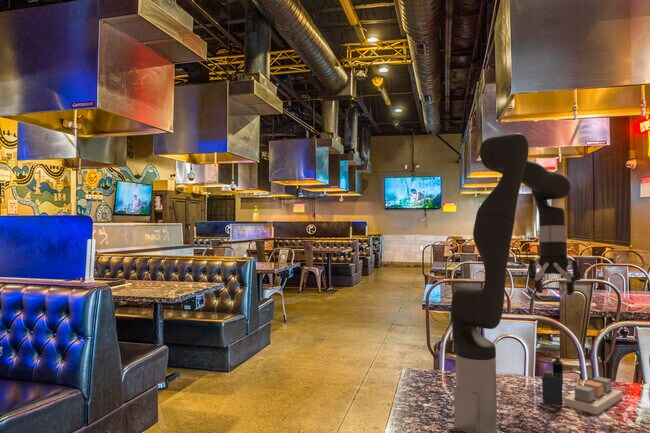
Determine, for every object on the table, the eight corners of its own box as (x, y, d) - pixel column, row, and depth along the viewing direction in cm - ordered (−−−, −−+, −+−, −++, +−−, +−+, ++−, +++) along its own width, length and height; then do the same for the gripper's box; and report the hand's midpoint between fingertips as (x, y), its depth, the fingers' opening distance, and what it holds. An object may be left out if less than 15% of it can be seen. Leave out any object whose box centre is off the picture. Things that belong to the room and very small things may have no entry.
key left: (589, 402, 116) (588, 391, 116) (574, 398, 118) (574, 387, 119) (594, 399, 118) (594, 388, 118) (580, 395, 121) (580, 385, 121)
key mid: (598, 397, 120) (597, 386, 120) (584, 393, 122) (583, 383, 122) (603, 394, 122) (602, 383, 122) (589, 390, 124) (589, 380, 125)
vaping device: (564, 404, 120) (563, 360, 120) (544, 403, 121) (543, 358, 121) (561, 401, 122) (560, 357, 123) (541, 399, 124) (540, 356, 124)
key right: (606, 392, 123) (606, 381, 123) (592, 388, 126) (592, 378, 126) (611, 389, 125) (611, 379, 126) (597, 386, 128) (597, 376, 128)
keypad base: (596, 414, 113) (596, 406, 113) (564, 405, 119) (564, 397, 119) (622, 398, 124) (622, 391, 124) (591, 390, 131) (591, 383, 131)
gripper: (524, 241, 139) (525, 293, 137) (573, 240, 128) (575, 296, 127) (534, 241, 144) (535, 291, 142) (582, 240, 133) (584, 295, 132)
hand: (554, 293), depth 135 cm, fingers open, 8 cm apart
